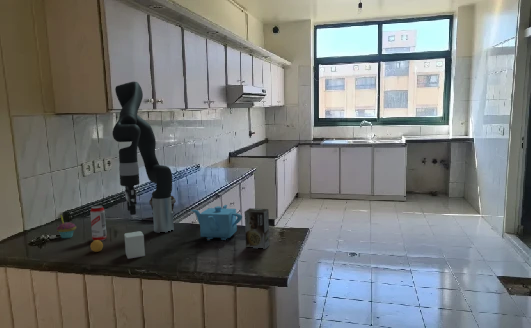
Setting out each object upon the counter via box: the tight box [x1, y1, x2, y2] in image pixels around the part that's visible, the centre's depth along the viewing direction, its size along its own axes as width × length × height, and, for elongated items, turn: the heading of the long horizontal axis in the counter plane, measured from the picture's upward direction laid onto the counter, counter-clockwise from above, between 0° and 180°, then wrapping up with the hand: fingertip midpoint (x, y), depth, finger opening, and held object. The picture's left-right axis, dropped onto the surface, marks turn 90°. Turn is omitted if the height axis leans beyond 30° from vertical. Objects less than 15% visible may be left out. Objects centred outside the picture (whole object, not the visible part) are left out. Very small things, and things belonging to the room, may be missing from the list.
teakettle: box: [190, 204, 243, 241], centre depth 187 cm, size 19×19×15 cm
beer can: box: [89, 205, 107, 242], centre depth 188 cm, size 6×6×16 cm
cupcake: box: [56, 213, 77, 239], centre depth 194 cm, size 9×8×12 cm
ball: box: [90, 240, 104, 253], centre depth 171 cm, size 5×5×5 cm
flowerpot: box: [148, 195, 176, 215], centre depth 229 cm, size 14×15×20 cm
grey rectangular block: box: [124, 231, 146, 260], centre depth 165 cm, size 7×7×9 cm
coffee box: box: [244, 207, 270, 250], centre depth 172 cm, size 9×6×16 cm
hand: (131, 212), depth 164 cm, fingers open, 8 cm apart
